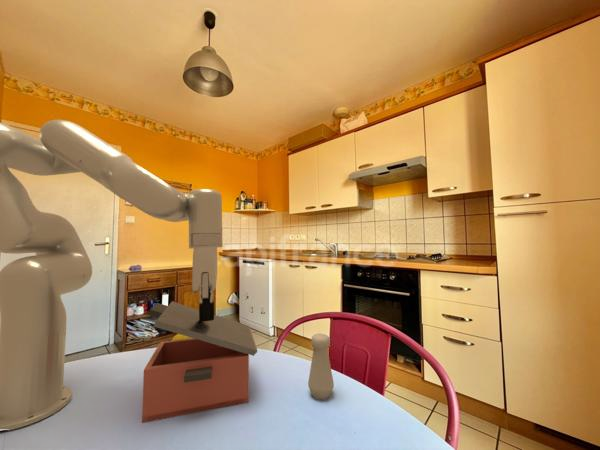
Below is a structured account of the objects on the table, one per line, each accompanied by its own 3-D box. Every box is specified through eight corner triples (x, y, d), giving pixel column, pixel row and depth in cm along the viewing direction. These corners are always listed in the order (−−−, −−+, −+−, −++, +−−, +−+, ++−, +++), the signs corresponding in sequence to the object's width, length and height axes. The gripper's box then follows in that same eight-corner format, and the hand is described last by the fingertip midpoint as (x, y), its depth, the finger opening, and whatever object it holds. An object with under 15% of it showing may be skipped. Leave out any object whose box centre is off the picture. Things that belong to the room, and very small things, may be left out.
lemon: (164, 363, 70) (165, 334, 71) (178, 355, 76) (179, 328, 76) (181, 366, 69) (182, 336, 69) (194, 357, 74) (195, 329, 75)
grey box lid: (140, 322, 48) (143, 316, 48) (159, 302, 63) (162, 298, 63) (256, 356, 54) (258, 351, 54) (248, 330, 69) (250, 326, 69)
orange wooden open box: (137, 432, 45) (139, 376, 46) (161, 377, 63) (162, 338, 64) (249, 409, 51) (249, 360, 52) (242, 365, 69) (242, 329, 70)
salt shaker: (315, 383, 60) (315, 329, 61) (337, 391, 57) (337, 333, 58) (303, 397, 55) (303, 337, 56) (327, 405, 52) (326, 342, 53)
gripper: (192, 242, 65) (193, 313, 64) (184, 242, 51) (184, 333, 50) (222, 241, 68) (223, 309, 67) (222, 241, 53) (223, 328, 52)
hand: (206, 319), depth 58 cm, fingers closed
